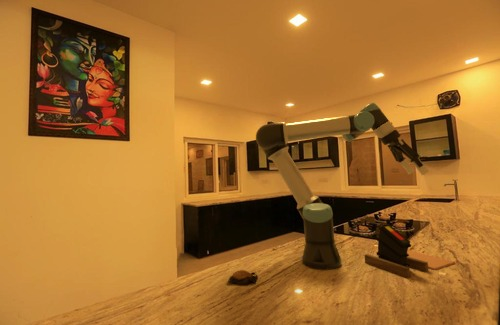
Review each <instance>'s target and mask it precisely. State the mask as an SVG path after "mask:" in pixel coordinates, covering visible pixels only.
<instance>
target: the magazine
mask: <svg viewBox="0 0 500 325" xmlns="http://www.w3.org/2000/svg"><path fill="white" fill-rule="evenodd" d="M378 229H379V231H378V232H379V233H378V237H376V241H377V242H378V243H377V251H376V256H377V257H378V258H381V259H384V260H387V261H390V262H393V263H397V264H400V265H403V266H406V267H409V264H408V263H407V256H409V254H407V250H409V248H411V247H412V244H411V241H410V240H409V239H408V238H406V236H404V235H403V234H402V233H400V232H399V231H398V230H397V229H395V228H394V227H392V226H391V225H390V224H388V223H383V224H381V226H378Z"/></svg>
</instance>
